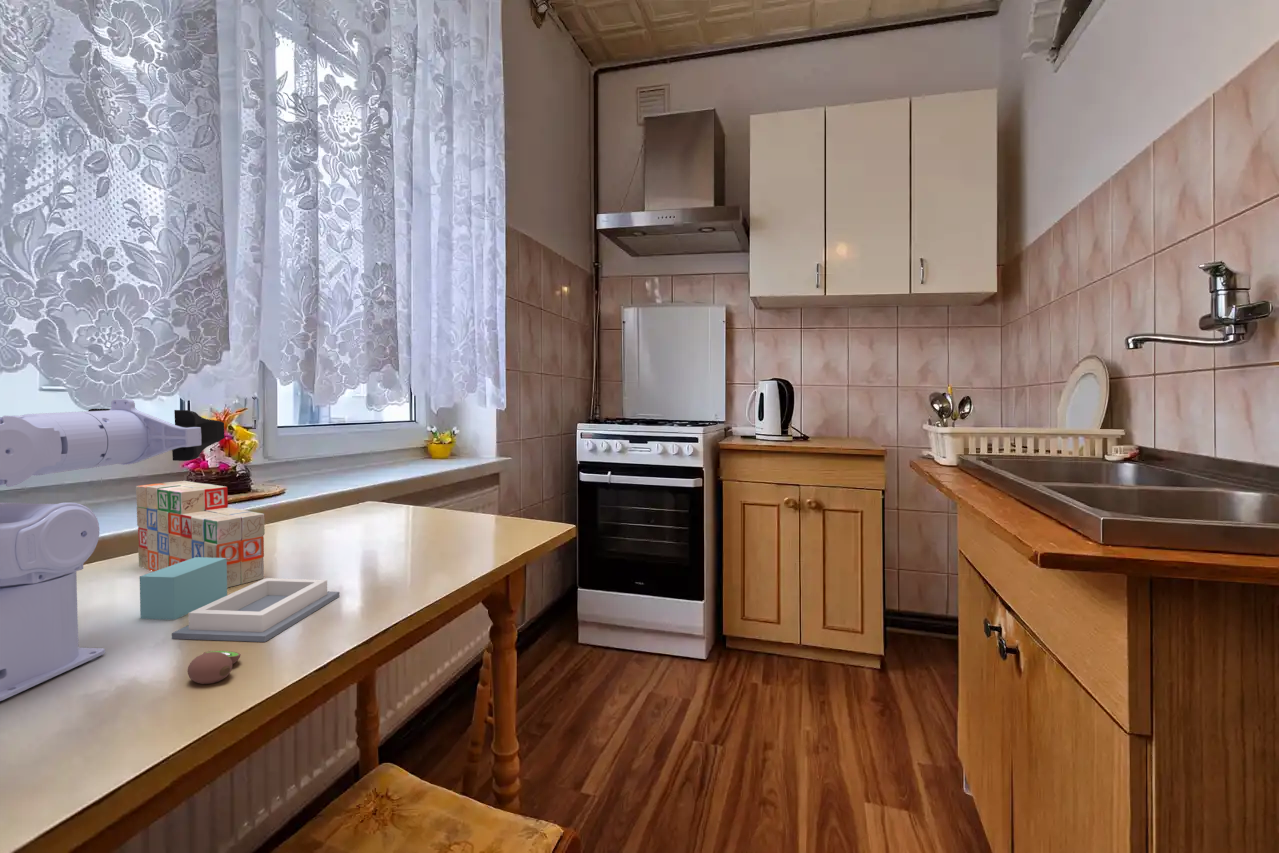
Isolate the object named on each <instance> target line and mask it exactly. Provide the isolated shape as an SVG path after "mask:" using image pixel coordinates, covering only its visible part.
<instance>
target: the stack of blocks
mask: <svg viewBox="0 0 1279 853" xmlns="http://www.w3.org/2000/svg"><path fill="white" fill-rule="evenodd" d="M135 492H136V493H135V496H136V523H137V524H136V525H137V536H138V537H137V538H138V548H137V551H138V567H139V566H141V567H140V568H142V567H144V568H143V569H145V568H147V569H146V570H148V569H149V570H148V571H151V570H152V571H151V572H154V571H157V570H160V569H163V568H166V567H169V566H171V565H174V564H177V563H180V562H183V561H186V560H189V559H192V558H195V557H208V558H227V589H228V588H232V587H235V586H238V585H244V584H247V583H250V582H254V581H260V580H262V579H265V568H264V565H265V564H264V562H265V561H264V557H265V541H264V540H265V538H264V536H265V533H266V532H265V529H266V528H265V513H261V512H256V511H252V510H251V511H250V510H245V509H241V508H240V509H239V508H237V507H236V508H233V507H229V501H228V499H229V498H228V497H229V496H228V486H225V485H224V486H223V485H217V484H211V483H202V482H194V481H189V480H181V481H179V480H178V481H170V482H169V481H168V482H167V481H166V482H162V483H150V484H141V485H136V486H135Z"/></svg>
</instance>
